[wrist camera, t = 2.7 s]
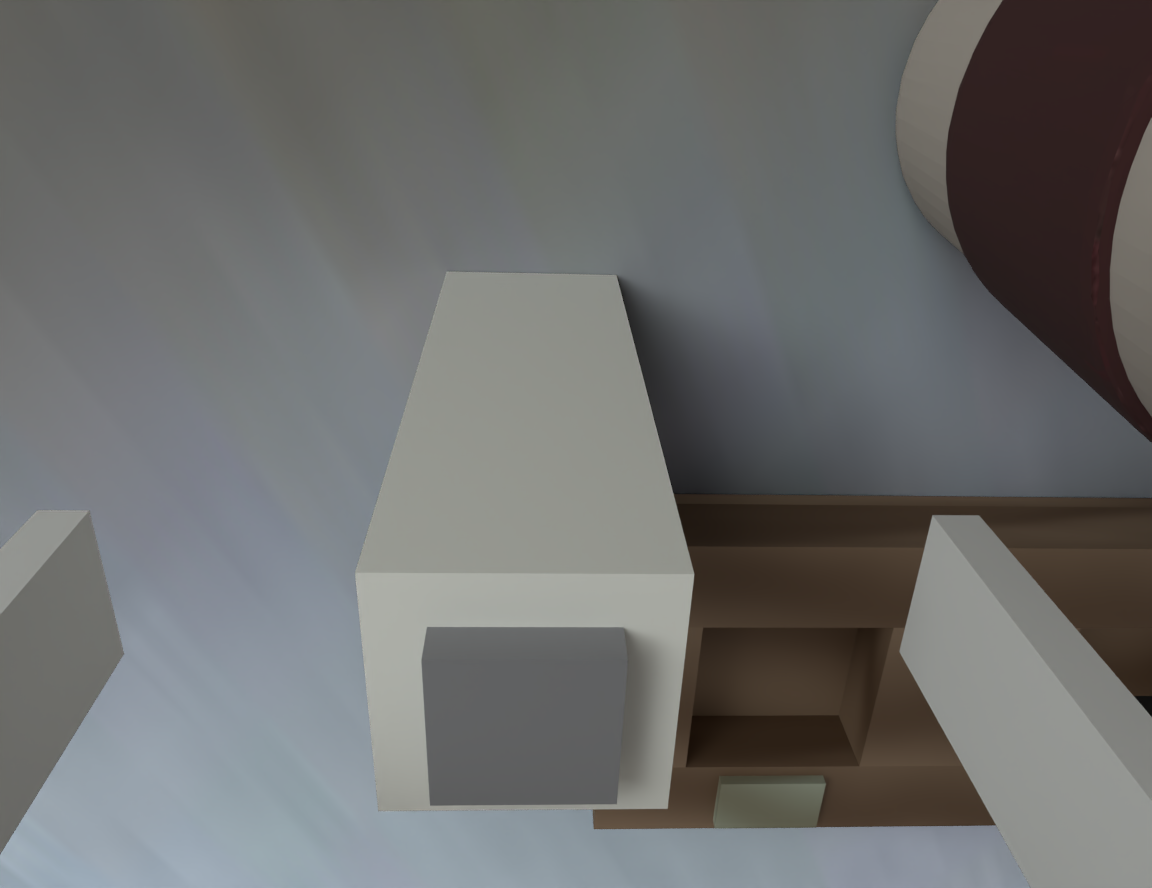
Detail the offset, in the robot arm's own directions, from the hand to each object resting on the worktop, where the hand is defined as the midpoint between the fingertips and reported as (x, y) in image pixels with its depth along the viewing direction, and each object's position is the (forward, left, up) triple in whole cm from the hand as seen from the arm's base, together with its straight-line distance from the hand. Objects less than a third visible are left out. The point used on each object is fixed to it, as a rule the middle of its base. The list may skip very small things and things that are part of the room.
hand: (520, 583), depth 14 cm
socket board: (+9, +12, -9) cm, 17 cm away
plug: (0, 0, -9) cm, 9 cm away
